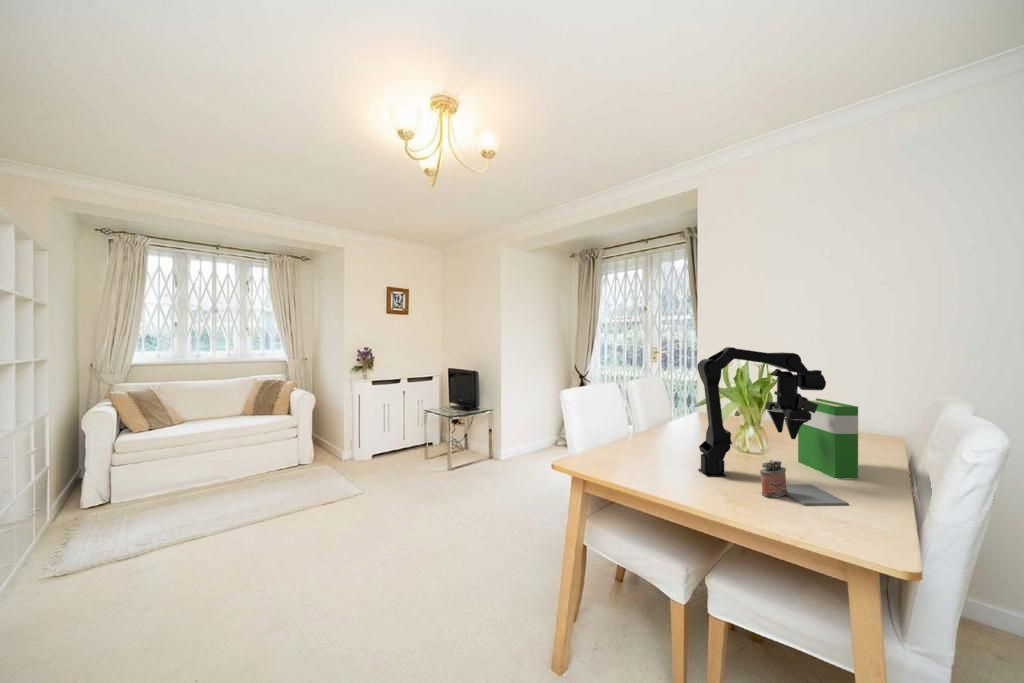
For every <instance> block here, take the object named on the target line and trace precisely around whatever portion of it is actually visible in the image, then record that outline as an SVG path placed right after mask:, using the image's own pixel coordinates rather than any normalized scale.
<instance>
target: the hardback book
mask: <svg viewBox="0 0 1024 683" xmlns="http://www.w3.org/2000/svg"><path fill="white" fill-rule="evenodd" d="M808 401H810V402H813V403H815V404H818V407H817V409H816V411H815V413H812V412H810V413H811V420H809V421H808V422H805V423H803V424H802V425H801V427H800V429H799V431H798V434H797V447H798V448H797V462H798V463H800V464H802V465H804V466H806V467H808V466H809V467H808V468H810V467H811V469H812V468H813V470H814V471H817V470H818V471H817V472H819V471H820V473H821V472H822V473H821V474H823V473H824V474H823V475H826V474H827V475H826V476H828V475H829V476H828V477H830V476H831V478H832V477H833V479H834V478H858V479H859V406H856V405H852V404H847V403H841V402H837V401H833V400H827V399H823V398H818V397H817V398H815V400H809V399H808ZM802 409H803V408H802Z"/></svg>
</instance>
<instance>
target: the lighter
mask: <svg viewBox="0 0 1024 683" xmlns="http://www.w3.org/2000/svg"><path fill="white" fill-rule="evenodd" d="M761 465H762V469H760V470H759V473H760V480H761V496H762V497H763V496H764V498H766V497H767V499H772V498H778V497H782V496H783V497H784V496H787V495H786V494H788V491H787V488H786V484H787V478H786V472H787V469H786V467H784V466H782V461H781V460H773V459H770V460H769V461H766V462H762V463H761Z"/></svg>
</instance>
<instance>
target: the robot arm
mask: <svg viewBox="0 0 1024 683" xmlns="http://www.w3.org/2000/svg"><path fill="white" fill-rule="evenodd" d="M733 360H739V361H748V362H754V363H762V364H765V365H769V366H771V367H775V369H774V370H773V371H772V372H771V373H770V374H769V375H770V376H772V377H773V376H774V377H777V380H776V391H774V395H776V401H767V402H766V403H765V405H764V406H765V407H764V408H765V410H767V414H768V415H769V417H770V419H771V421H772V422H773V423H772V424H774V426H775V429H776V431H777V432H778V433H779V434H780V433H783V429H784V424H786V427H787V431H788V434H789V437H790V439H791V440H796V438H797V437H798V431H799V429H800V427H801V425H802V424H803V423H805V422H808V421H809V420H811V413H810V412H812V413H815V411H816V409H817V407H818V404H815V403H813V402H810V401H808V400H809V399H808V397H804V396H803V395H801V393H798V392H799V390H798V389H800V390H801V391H823V390H824V389H825V388H826V386H827V381H826V378H825V377H824V375H823V374H822V373H823V372H822V370H819V369H812V370H811V369H810V370H808V368H807V367H806V366H805V365H804V363H803V362H802V358H801V356H800V355H799V354H797V353H795V352H762V351H756V350H749V349H742V348H741V349H740V348H736V347H732V346H728V347H727V346H726V347H724V348H722V349H721V350H720V351H718V352H716V353H715V354H713V355H711V356H709V357H708V358H703V359H701V360H700V361H699V362H698V363H697V372H698V375H699V378H700V380H701V382H702V384H703V389H704V396H705V404H706V406H705V407H706V413H707V421H708V422H707V423H708V426H707V429H706V431H705V440H704V441H703V442H702V443H701V444H700V445H699V446H698V448H699V451H700V468H698V471H699V472H701V473H702V474H703V475H705V476H707V477H726V476H727V474H725V457H726V454H727V453H728V452H729V451H730V450H731V445H733V442H732V439H731V437H732V433H731V431H729V430H727V429H726V428H725V427H724V422H723V413H722V412H723V411H722V404H721V396H720V388H719V386H720V381H721V378H722V370H723V369H724V368H726V367H727V366H728V365H729V364H730V363H731V362H732V361H733ZM783 370H784V371H783ZM785 370H786V371H785ZM802 408H803V409H802ZM784 422H785V423H784ZM701 453H702V454H701Z"/></svg>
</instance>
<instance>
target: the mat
mask: <svg viewBox="0 0 1024 683" xmlns="http://www.w3.org/2000/svg"><path fill="white" fill-rule="evenodd" d="M786 488H787V491H788V494H786V495H785V496H786V497H788V498H790V499H792V500H794V501H795V502H797V503H799V504H801V505H802V506H849V505H850V504H849V502H847V501H845V500H843V499H841V498H839V497H837V496H835V495H833V494H832V493H829V492H827V491H825V490H823V489H821V488H818V487H817V486H815V485H812V484H810V483H809V484H806V483H804V484H803V483H798V484H793V483H792V484H787V483H786Z"/></svg>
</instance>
